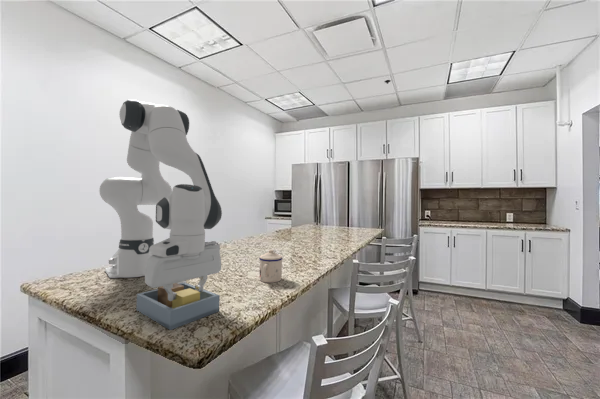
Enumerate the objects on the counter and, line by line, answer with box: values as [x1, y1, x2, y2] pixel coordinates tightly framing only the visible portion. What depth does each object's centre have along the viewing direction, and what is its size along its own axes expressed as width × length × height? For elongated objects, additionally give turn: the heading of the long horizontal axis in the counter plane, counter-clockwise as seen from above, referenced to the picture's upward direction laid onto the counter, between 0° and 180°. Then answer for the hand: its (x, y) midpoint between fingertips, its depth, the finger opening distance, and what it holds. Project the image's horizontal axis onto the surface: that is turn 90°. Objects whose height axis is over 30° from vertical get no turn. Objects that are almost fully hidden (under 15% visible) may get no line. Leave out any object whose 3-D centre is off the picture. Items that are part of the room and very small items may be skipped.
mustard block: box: [172, 288, 200, 309], centre depth 73 cm, size 5×5×5 cm
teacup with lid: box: [258, 249, 283, 284], centre depth 105 cm, size 12×9×12 cm
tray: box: [136, 282, 221, 331], centre depth 75 cm, size 18×14×4 cm
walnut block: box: [157, 283, 184, 307], centre depth 78 cm, size 5×5×5 cm
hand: (186, 295), depth 73 cm, fingers open, 6 cm apart
